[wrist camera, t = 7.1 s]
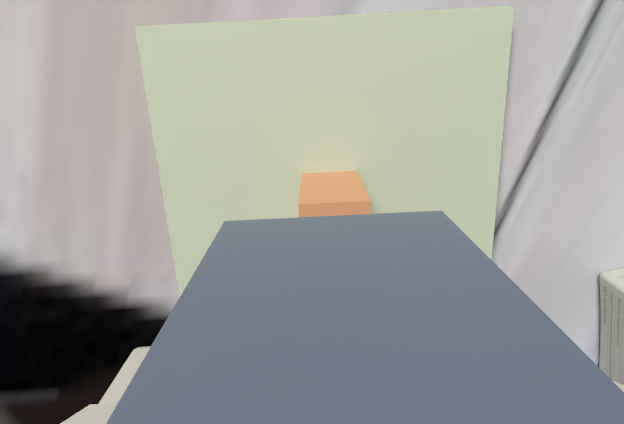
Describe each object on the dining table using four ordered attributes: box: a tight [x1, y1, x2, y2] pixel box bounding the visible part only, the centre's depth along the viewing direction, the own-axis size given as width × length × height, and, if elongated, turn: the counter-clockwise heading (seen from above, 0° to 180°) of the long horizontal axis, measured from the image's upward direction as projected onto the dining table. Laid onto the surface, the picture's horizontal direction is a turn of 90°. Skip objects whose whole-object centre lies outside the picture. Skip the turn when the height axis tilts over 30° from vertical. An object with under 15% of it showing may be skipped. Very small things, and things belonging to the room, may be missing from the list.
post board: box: [135, 5, 514, 296], centre depth 18 cm, size 16×16×6 cm
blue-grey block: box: [106, 210, 624, 424], centre depth 8 cm, size 5×5×7 cm
